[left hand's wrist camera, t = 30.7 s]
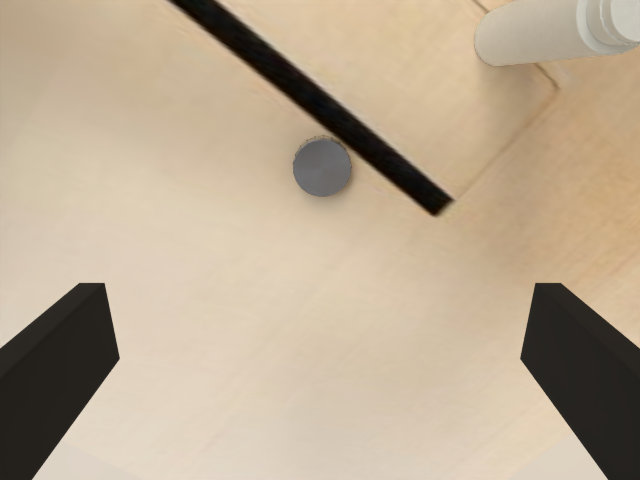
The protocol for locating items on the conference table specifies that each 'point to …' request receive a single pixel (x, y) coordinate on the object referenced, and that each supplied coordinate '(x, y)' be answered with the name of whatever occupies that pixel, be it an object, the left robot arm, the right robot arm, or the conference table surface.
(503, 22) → the white cylindrical bottle
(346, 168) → the lid
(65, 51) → the conference table surface
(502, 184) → the conference table surface
